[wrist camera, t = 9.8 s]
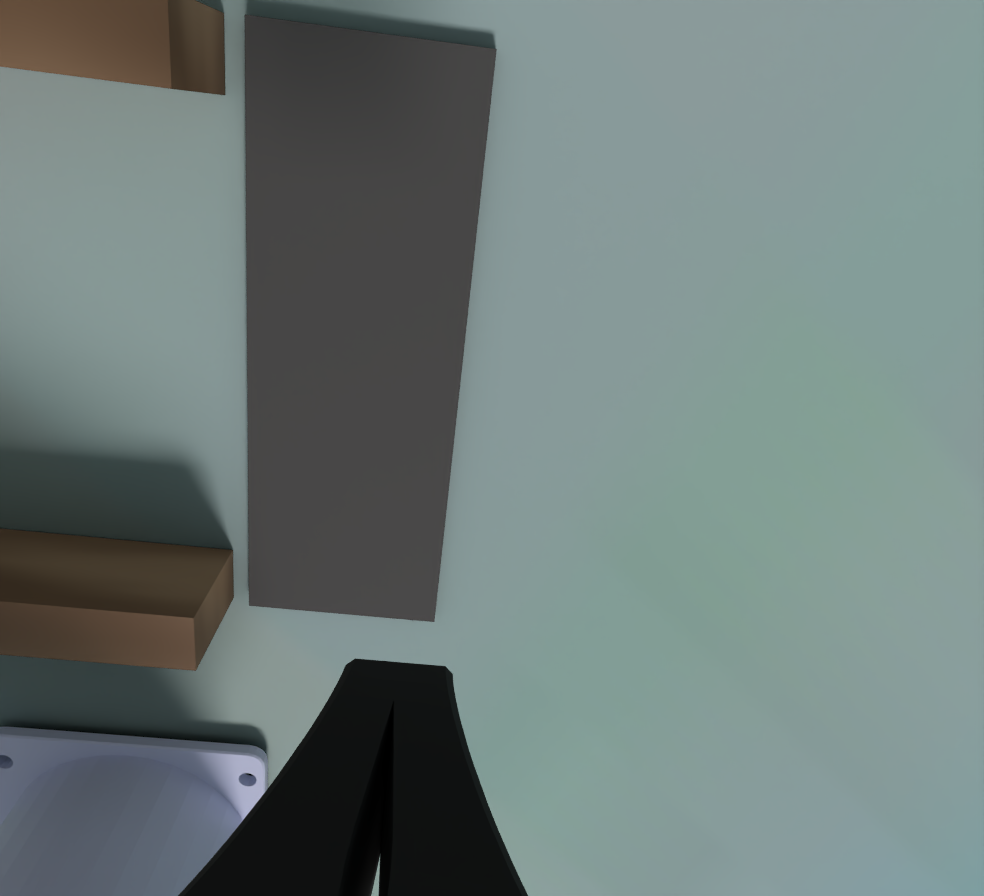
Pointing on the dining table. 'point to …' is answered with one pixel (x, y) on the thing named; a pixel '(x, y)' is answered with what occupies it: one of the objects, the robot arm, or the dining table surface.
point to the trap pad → (356, 307)
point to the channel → (90, 560)
